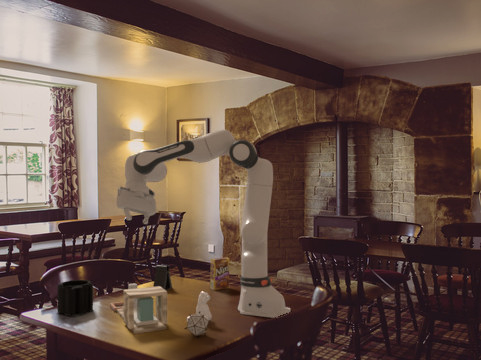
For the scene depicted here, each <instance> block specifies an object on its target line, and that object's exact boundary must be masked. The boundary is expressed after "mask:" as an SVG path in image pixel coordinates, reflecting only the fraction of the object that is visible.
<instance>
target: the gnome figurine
mask: <svg viewBox="0 0 481 360" xmlns="http://www.w3.org/2000/svg"><path fill="white" fill-rule="evenodd" d="M210 300H211V296H210V295H209V293H208V292H205V291H200V292H199V295H198V299H197V305H196V307H195V310H196V311H195V314H199V311H200V314H201V315H202V316H203V315H204V317H205V318H206V319H207V320H208V321H209V320H211V321H212V318H213V315H212V312H211V310H210V307H209V305H208V304H207V303H208V301H210ZM192 315H193V314H191V316H192ZM188 319H190V316H187V317H186V322H187V323H188V322H189V321H188ZM209 323H210V322H208V324H209Z"/></svg>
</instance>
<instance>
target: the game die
mask: <svg viewBox="0 0 481 360" xmlns="http://www.w3.org/2000/svg"><path fill="white" fill-rule="evenodd" d="M188 315H189V316H190V319H188V321H189V322H188V321H187V325H186V327H184V330H186V329H187V330H188V331H189V332H190V333H191V335H193V336H195V337H194V338H195V339H197V337H198V336H201V335H203V334H204V336H206V335H207V333H206V332H207V331H209V329H208V325H209V323H210V322H211V321H212V319H211V320H209V321H208V320H207V319H206V318H205V317H204V315H203V316H202V315H201V314H200V311H199V314H196V313H194V314H188ZM191 315H192V316H191ZM208 322H209V323H208Z"/></svg>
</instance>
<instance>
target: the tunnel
mask: <svg viewBox="0 0 481 360" xmlns="http://www.w3.org/2000/svg"><path fill="white" fill-rule="evenodd" d="M122 291H123V302H124V310H123V309H117V312H116V313H117V314H118V315H119V316H120V318H121V319H122V320H123V323H124V324H125V325H126V327H127V328H128V330H131V331H132V333H133V334H142V333H143V334H144V333H149V332H156V331H158V332H159V331H164V330H168V326H167V325H168V290H164V289H163V288H162V287H160V286H156V287H153V286H148V287H147V286H146V287H139V288H138V287H137V288H136V289H128V288H127V289H123V290H122ZM142 297H155V314H154V316H155V317H156V318H157V319H158V323H156V324H148V325H141V326H137V325H136V324H135V323H134V298H142Z"/></svg>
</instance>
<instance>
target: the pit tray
mask: <svg viewBox="0 0 481 360" xmlns="http://www.w3.org/2000/svg"><path fill="white" fill-rule="evenodd" d="M109 305H110V306H109V307H110V309H111V310H112V311H113V312H114V313H117V309H122V306H124V301H119V302H117V301H116V302H110V303H109Z"/></svg>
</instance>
